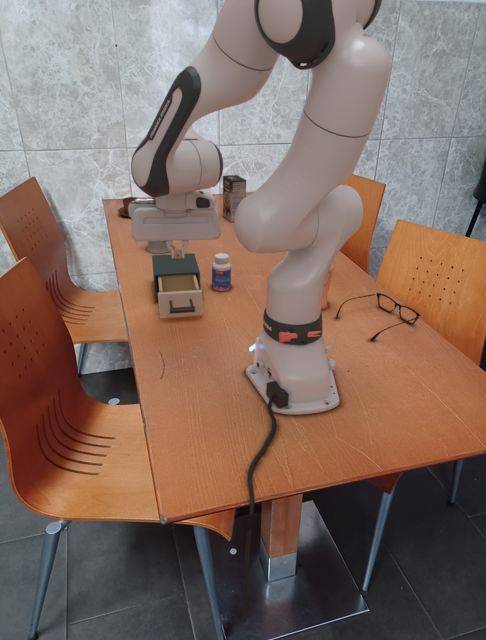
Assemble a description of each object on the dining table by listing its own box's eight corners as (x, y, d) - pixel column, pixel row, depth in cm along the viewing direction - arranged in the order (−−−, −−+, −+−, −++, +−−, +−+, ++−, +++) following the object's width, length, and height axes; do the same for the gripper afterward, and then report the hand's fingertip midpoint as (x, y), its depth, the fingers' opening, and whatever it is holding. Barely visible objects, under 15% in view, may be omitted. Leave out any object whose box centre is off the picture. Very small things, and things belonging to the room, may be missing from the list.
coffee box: (222, 216, 205) (222, 175, 196) (236, 214, 207) (237, 174, 199) (231, 222, 198) (231, 180, 189) (245, 220, 200) (246, 179, 192)
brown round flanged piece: (117, 211, 207) (115, 196, 204) (146, 209, 211) (145, 194, 207) (119, 220, 198) (118, 204, 194) (150, 218, 201) (149, 202, 198)
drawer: (205, 326, 123) (205, 302, 120) (160, 329, 121) (158, 305, 118) (197, 293, 139) (196, 271, 136) (157, 295, 137) (155, 273, 134)
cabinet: (200, 299, 138) (199, 272, 134) (155, 302, 136) (153, 274, 131) (195, 279, 150) (194, 253, 145) (154, 281, 148) (151, 255, 143)
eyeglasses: (421, 328, 126) (424, 314, 124) (375, 344, 119) (378, 329, 117) (375, 303, 138) (377, 290, 136) (330, 316, 131) (332, 302, 129)
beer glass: (328, 311, 133) (334, 258, 125) (302, 309, 134) (307, 256, 126) (330, 300, 139) (336, 249, 131) (305, 298, 140) (309, 246, 132)
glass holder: (157, 242, 176) (154, 199, 168) (191, 250, 171) (189, 206, 163) (141, 250, 170) (137, 205, 162) (176, 258, 164) (173, 212, 156)
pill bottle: (214, 292, 142) (213, 259, 137) (210, 284, 146) (209, 253, 141) (232, 290, 143) (233, 258, 138) (228, 283, 148) (228, 251, 143)
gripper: (126, 201, 106) (132, 264, 113) (222, 200, 109) (222, 261, 116) (127, 195, 112) (133, 255, 118) (218, 194, 115) (219, 252, 121)
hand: (177, 258), depth 117 cm, fingers closed
